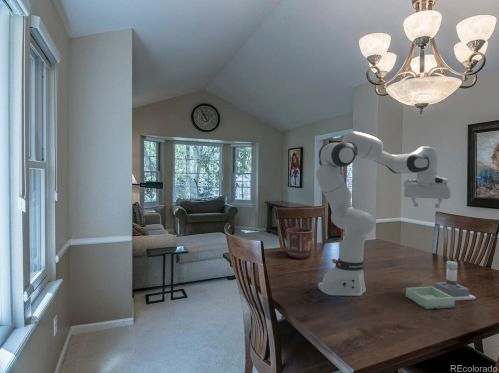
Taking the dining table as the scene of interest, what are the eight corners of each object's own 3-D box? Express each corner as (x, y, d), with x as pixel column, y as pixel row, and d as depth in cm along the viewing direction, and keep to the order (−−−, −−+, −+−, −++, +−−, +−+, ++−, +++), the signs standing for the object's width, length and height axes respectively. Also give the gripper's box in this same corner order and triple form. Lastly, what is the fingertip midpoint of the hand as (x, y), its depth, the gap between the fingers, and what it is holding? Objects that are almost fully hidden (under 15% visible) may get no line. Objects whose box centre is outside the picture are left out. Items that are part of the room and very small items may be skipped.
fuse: (450, 294, 138) (451, 263, 138) (443, 290, 143) (444, 261, 142) (458, 293, 139) (459, 263, 138) (451, 290, 143) (452, 260, 142)
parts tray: (426, 309, 125) (426, 299, 125) (405, 296, 138) (406, 287, 138) (454, 307, 127) (454, 297, 127) (431, 294, 140) (431, 286, 140)
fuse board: (449, 300, 133) (449, 291, 133) (428, 289, 146) (428, 281, 146) (475, 299, 135) (476, 290, 135) (452, 288, 148) (452, 280, 148)
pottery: (309, 252, 213) (309, 227, 212) (315, 260, 195) (315, 232, 195) (284, 253, 212) (284, 227, 212) (288, 260, 195) (288, 232, 194)
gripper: (402, 179, 155) (401, 206, 155) (449, 179, 141) (448, 209, 141) (406, 179, 159) (405, 205, 160) (452, 179, 145) (451, 207, 146)
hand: (426, 207), depth 151 cm, fingers open, 8 cm apart
